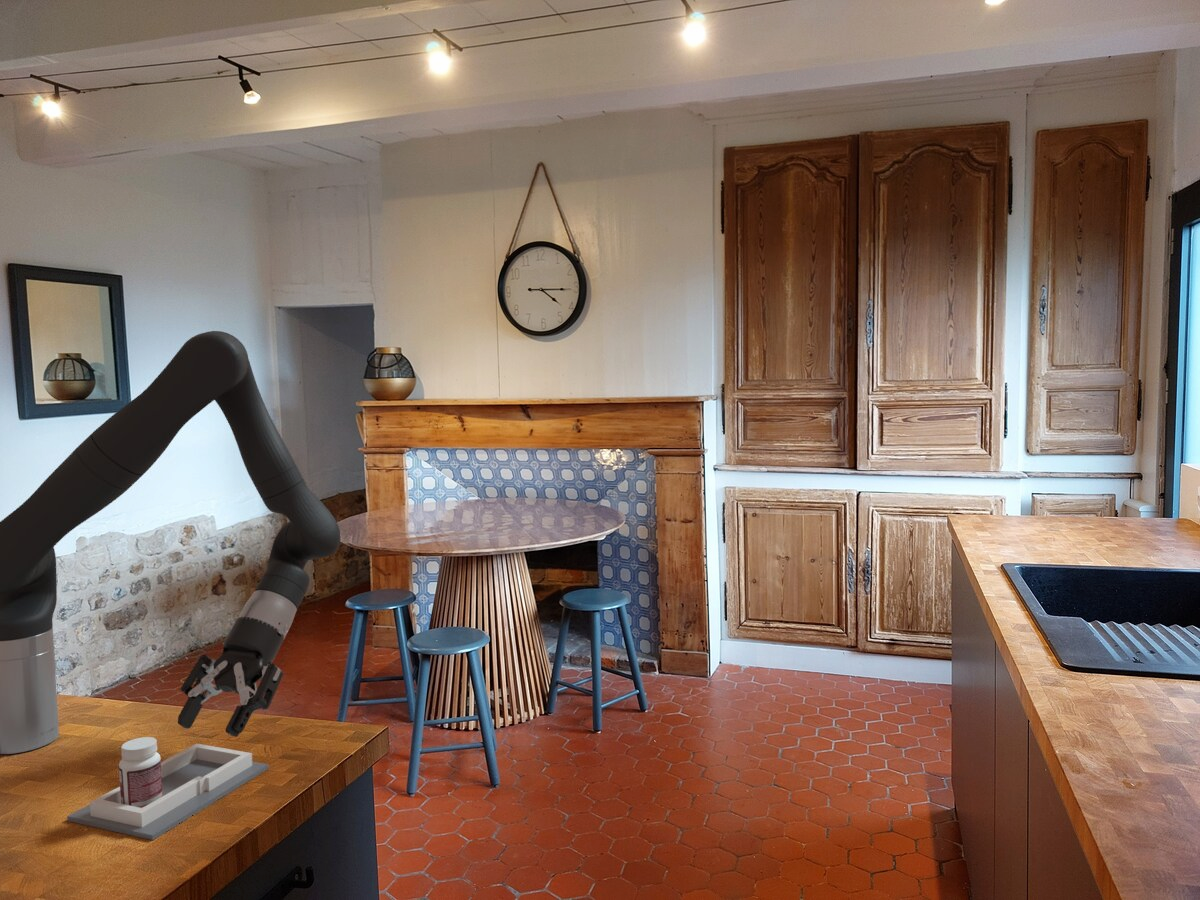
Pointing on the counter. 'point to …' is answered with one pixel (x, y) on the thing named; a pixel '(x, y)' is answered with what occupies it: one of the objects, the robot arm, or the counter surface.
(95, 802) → the walled tray base
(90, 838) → the counter surface
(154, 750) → the pill bottle
